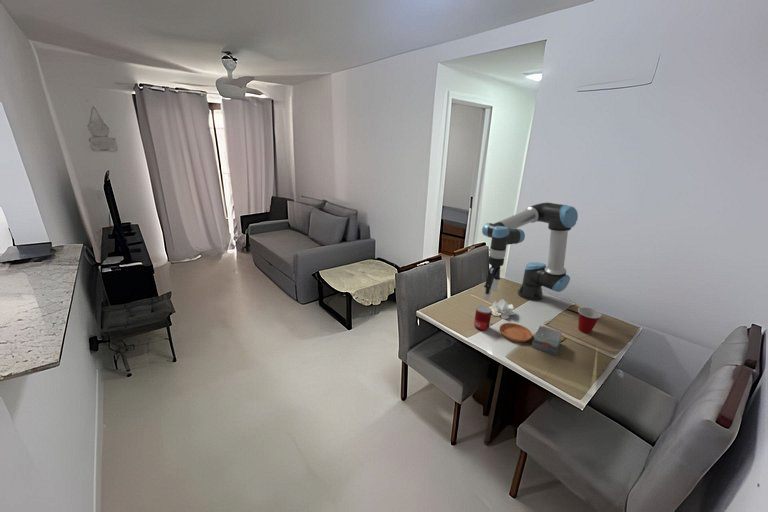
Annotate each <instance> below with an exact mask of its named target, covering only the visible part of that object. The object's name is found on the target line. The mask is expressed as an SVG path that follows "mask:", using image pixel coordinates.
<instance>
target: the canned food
mask: <svg viewBox="0 0 768 512" xmlns="http://www.w3.org/2000/svg"><path fill="white" fill-rule="evenodd" d="M490 308H491V307H489V306H486V305H478V306H476V308H475V316H474V323H473V325H474V327H475V328H476V329H478V330H479V331H480V330H481V331H486V330H488V329H489V328H490V321H491V318H492V310H491V309H490Z"/></svg>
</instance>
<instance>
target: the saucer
mask: <svg viewBox="0 0 768 512" xmlns="http://www.w3.org/2000/svg"><path fill="white" fill-rule="evenodd" d="M499 332H500V333H501V334H502V336H503V337H504V338H506V339H507V340H508V341H509V340H510V341H512V342H516V343H525V342H528V341H530V340H531V339H532V337H533V333H532V331H531V330H530V329H528V327H525V326H524V325H522V324H519V323H515V322H504V323H502V324H500V326H499Z"/></svg>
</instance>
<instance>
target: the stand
mask: <svg viewBox="0 0 768 512" xmlns="http://www.w3.org/2000/svg"><path fill="white" fill-rule="evenodd" d="M562 335H563V332H562V331H558V330H555V329H552V328H549V327H546V326H542V325H539V327H538V329H537V330H536V332H535V335H534V338H533V340H532V343H531V348H533V349H536V350H539V351H541V352H544V353H547V354H550V355H553V356H557V355H558V352H559V348H560V346H561V344H562V343H561V342H562V339H563V338H562Z"/></svg>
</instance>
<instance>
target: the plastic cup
mask: <svg viewBox="0 0 768 512" xmlns="http://www.w3.org/2000/svg"><path fill="white" fill-rule="evenodd" d="M577 312H578V323H577V324H578V325H577V326H578V327H577V328H578V331H579V332H581V333H583V334H591V332H592V331H593V329H595V325H596V323H597V322H598V321H599V319H600V318H601V317H602V313H601V312H600V311H598V310H597V309H594V308H592V307H588V306H582V307H579V308H577Z"/></svg>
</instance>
